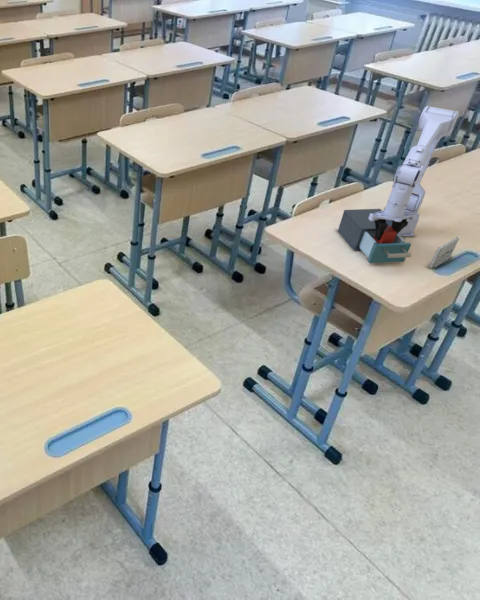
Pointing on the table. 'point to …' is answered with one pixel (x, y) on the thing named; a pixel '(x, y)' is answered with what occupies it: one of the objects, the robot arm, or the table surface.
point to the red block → (387, 236)
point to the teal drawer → (383, 249)
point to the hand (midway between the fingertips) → (383, 238)
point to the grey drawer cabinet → (357, 225)
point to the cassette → (443, 253)
